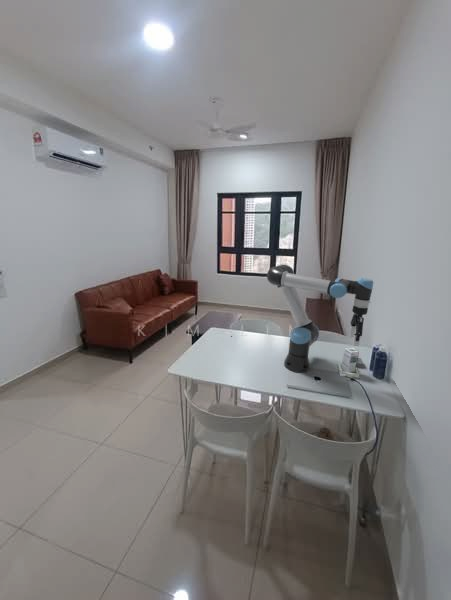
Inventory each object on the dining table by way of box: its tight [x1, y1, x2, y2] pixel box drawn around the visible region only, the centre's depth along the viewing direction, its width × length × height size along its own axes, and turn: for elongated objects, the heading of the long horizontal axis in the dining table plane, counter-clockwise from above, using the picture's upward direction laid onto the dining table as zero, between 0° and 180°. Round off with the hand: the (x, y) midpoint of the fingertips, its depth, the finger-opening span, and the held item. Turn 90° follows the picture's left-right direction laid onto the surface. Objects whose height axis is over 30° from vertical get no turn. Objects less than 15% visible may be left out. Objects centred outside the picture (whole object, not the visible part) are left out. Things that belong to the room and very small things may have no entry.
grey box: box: [357, 357, 364, 371], centre depth 170 cm, size 8×13×4 cm, turn 165°
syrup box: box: [341, 347, 360, 373], centre depth 160 cm, size 6×6×14 cm
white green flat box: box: [336, 363, 360, 380], centre depth 162 cm, size 10×13×3 cm
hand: (353, 341), depth 157 cm, fingers open, 13 cm apart
